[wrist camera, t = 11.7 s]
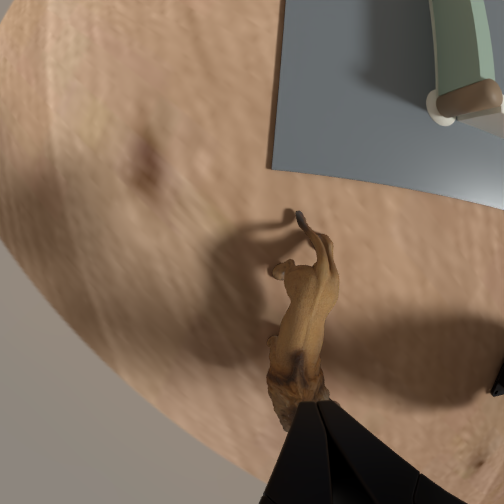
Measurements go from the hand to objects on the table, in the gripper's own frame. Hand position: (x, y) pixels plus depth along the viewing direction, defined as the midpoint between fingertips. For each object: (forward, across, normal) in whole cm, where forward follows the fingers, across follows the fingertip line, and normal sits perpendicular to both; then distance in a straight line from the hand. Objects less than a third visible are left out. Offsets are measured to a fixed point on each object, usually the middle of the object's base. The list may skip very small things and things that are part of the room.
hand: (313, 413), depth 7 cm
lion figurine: (+13, -1, +2) cm, 14 cm away
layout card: (+13, -11, -15) cm, 23 cm away
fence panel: (+13, -11, -11) cm, 20 cm away
